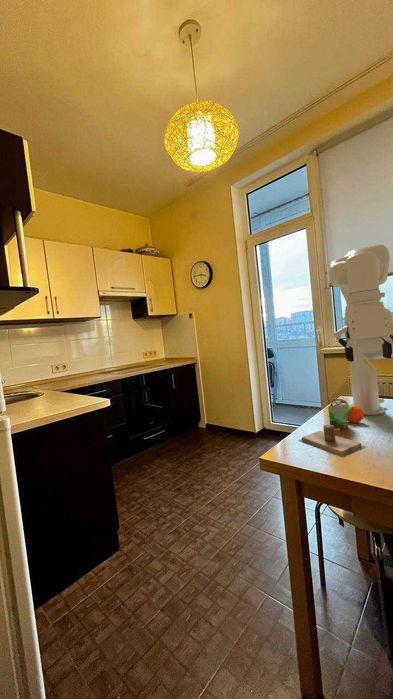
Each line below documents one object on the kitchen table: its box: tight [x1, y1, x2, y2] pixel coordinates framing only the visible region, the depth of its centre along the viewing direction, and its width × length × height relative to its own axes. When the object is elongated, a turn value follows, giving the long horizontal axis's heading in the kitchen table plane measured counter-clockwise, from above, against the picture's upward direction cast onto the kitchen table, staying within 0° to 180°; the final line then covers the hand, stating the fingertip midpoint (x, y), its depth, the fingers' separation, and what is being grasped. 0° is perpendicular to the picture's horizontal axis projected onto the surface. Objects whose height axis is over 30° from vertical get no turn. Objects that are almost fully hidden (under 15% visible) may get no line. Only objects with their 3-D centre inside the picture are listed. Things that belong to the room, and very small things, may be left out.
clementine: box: [348, 404, 364, 424], centre depth 110 cm, size 8×7×7 cm
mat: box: [297, 438, 367, 459], centre depth 93 cm, size 11×17×1 cm, turn 27°
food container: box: [327, 397, 350, 432], centre depth 106 cm, size 12×6×10 cm, turn 148°
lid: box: [301, 424, 362, 455], centre depth 93 cm, size 9×15×6 cm, turn 27°
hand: (368, 359), depth 81 cm, fingers open, 9 cm apart
